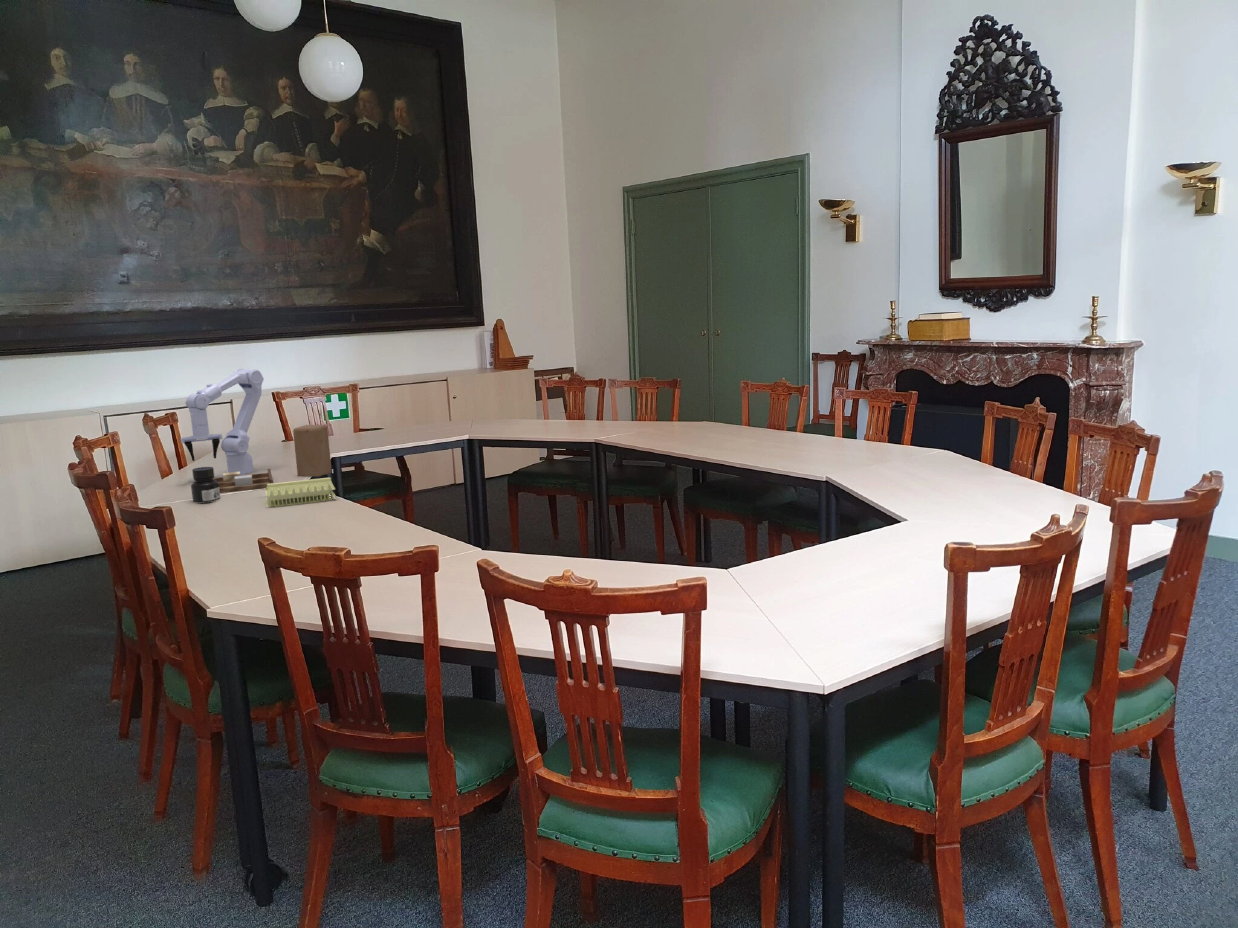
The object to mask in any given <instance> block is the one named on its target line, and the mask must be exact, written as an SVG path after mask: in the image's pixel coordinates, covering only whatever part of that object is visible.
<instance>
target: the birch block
mask: <svg viewBox="0 0 1238 928" xmlns="http://www.w3.org/2000/svg"><path fill="white" fill-rule="evenodd" d="M235 476H241V475H240V472H230V473H228V472H224V473H222V477H223V480H224V482H233V481H235V478H234V477H235Z"/></svg>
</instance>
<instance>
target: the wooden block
mask: <svg viewBox="0 0 1238 928" xmlns="http://www.w3.org/2000/svg"><path fill="white" fill-rule="evenodd" d="M292 432H293V433H292V435H293V443H294V451H295V453H294V454H295V462H296V470H297V471H296V473H297V477H322V476H324V475H326V476H327V475H330V474H331V473H332V462H331V452H330V442H329V441H330V440H329V430H328V426H327V425H325V424H305V425H301V426H298V427H295V428H293V430H292Z"/></svg>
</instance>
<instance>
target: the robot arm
mask: <svg viewBox="0 0 1238 928" xmlns="http://www.w3.org/2000/svg"><path fill="white" fill-rule="evenodd" d="M263 382H264V377H263V374H262V373H261V371H260V370H259V369H254V368H253V369H245V368H239V369H237V370H236V371H233V372H232V373H231V374H230V375H228V376H227V377H225V378H224V379H222V380H221V381H220V382H218V383H217V384H215V383H208V384H206V385H205V387H204V388H202V389H201V390H200V389H199V390H196V393H191V394H189V395H188V396H187V398H186V401H184V403H185V406H186V407H187V408H188V410H189V414H190V421H191V428H192V430H191V431H192V436H191V435H190V436H185V437H180V443H181V444H184V446H186V448H187V450H188V452H189V455H190V457H191V461H192V462H195V456H194V448H193V447H194V446H193V443H195V442H205V441H211V443H212V452H213V453H212V455H213V459H217V454H218V449H219V445H220V448H221V450H222V451H223V452H224V454H225V458H226V465H227V473H230V472H240V476H241V475H248V474H250V473H254V464H253V463H254V462H253V457H252V455H251V454H250V453H249V452H247V451H248V450H249V442H250V437H249V435H248V431H249V428H250V426H251V423H252V420H253V417H254V415H255V412H256V410H257V407H258V404H259V402H260V400H261V397H262V385H263ZM235 385H239V387H240V388H241V389H242V390H243V391H244V393H245V396H244V398H243V401H242V404H241V405H240V409H239V412H238V414H237V417H236V419H235V422H234V425H233V428H232V429H231V430H229V431H228V432H227V433H226V435H225V437H224V438H223V434H222V433H213V434H212V433H211V434H210V430H209V429H210V428H209V420H208V412H207V408H208V407H209V405H210V404H211V403H212V402H214V401H215V400H216V399H219V398H220V397H221V396H222V393H223V392H224V391H226V390H228V389H230V388H232V387H234V386H235ZM221 440H222V441H221Z"/></svg>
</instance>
